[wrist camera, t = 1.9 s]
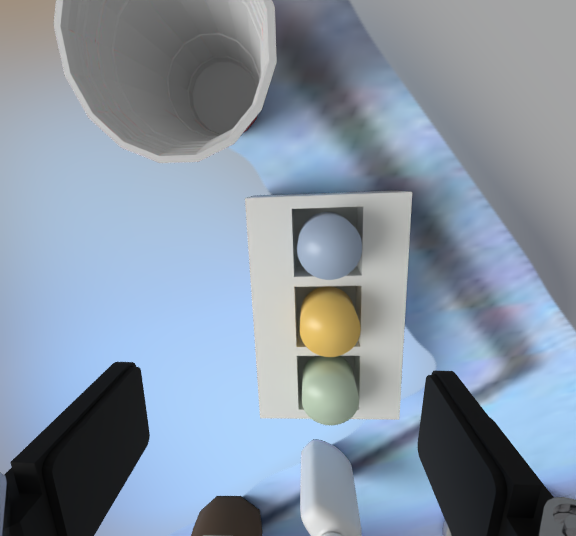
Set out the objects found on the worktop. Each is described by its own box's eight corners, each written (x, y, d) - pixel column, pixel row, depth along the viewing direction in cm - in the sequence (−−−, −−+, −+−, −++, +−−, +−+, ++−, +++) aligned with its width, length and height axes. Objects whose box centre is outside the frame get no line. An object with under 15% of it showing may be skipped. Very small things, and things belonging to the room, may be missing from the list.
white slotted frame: (395, 190, 27) (412, 192, 23) (386, 387, 32) (399, 419, 28) (254, 195, 28) (244, 197, 24) (266, 387, 33) (260, 418, 29)
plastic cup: (137, 125, 27) (11, 82, 16) (197, -6, 25) (99, -174, 13) (247, 196, 28) (206, 205, 17) (317, 77, 26) (324, -9, 14)
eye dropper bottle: (317, 481, 36) (321, 625, 24) (297, 441, 34) (292, 572, 23) (355, 471, 35) (378, 614, 23) (336, 430, 34) (351, 559, 22)
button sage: (353, 352, 28) (359, 376, 24) (352, 397, 29) (358, 425, 26) (301, 352, 28) (301, 376, 25) (303, 396, 29) (302, 424, 26)
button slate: (355, 210, 25) (362, 215, 21) (354, 266, 26) (361, 279, 22) (297, 212, 25) (296, 217, 22) (299, 267, 26) (298, 280, 23)
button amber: (354, 285, 26) (361, 301, 23) (353, 335, 27) (360, 356, 24) (299, 286, 27) (298, 301, 23) (301, 335, 28) (300, 357, 24)
